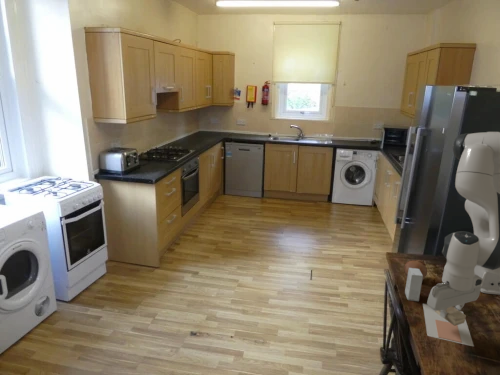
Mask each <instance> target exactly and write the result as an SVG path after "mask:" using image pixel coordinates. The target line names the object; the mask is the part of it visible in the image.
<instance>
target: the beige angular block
mask: <svg viewBox="0 0 500 375" xmlns="http://www.w3.org/2000/svg"><path fill="white" fill-rule="evenodd" d="M454 307H455V306H453V307H449V308H447V310H446V312H447V313H448V315H447V317H445V318H444V319H446V320H447V321H448V322H450V323H451V324H453V325H454V326H456V325H459V324H463V323H464V322H465V320H466V317H467V315H466V314H463V313H464V312H463V311H462V312H463V313H462V312H460V311H459V310H457V309H455V308H454ZM435 312H436V313H437V314H439V315H440V312H441V311H440V310H438V311H435ZM441 317H442V316H441Z"/></svg>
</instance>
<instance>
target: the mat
mask: <svg viewBox="0 0 500 375" xmlns="http://www.w3.org/2000/svg"><path fill="white" fill-rule="evenodd" d="M422 307H423V314H424V316H423V317H424V322H425V330H426V334H427V337H431V338H435V339H439V340H443V341H444V340H445V341H447V342H452V343H456V344H462V345H464V346H468V347H469V346H470V347H475V345H474V341H473V339H472V336H471V332H470V330H469V326H468V323H467V320H466V319H465V322H464V323H463V324H459V325H456V326H454V325H453V324H451V323H450V322H448V321H447V320H446V319H444V318H443V317H441V316H440V315H439V314H437V313H436V312H435V310H433V309H432V308H431V307H429V306H428V304H427V303H422ZM460 312H462V313H463V314H464V311H460Z"/></svg>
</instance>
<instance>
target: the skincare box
mask: <svg viewBox="0 0 500 375" xmlns="http://www.w3.org/2000/svg"><path fill="white" fill-rule="evenodd" d="M422 279H423V275H422V273H421V271H420V269H416V268H409V270H408V276H407V275H406V282H405V283H406V284H405V290H404V295H405V296H406V299H407V300H408V301H413V302H419V301H420V294H421V291H422V285H423V284H422V283H423V281H422Z"/></svg>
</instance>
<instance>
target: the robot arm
mask: <svg viewBox="0 0 500 375" xmlns="http://www.w3.org/2000/svg"><path fill="white" fill-rule="evenodd" d="M452 152H453V155H454V157H455V158H456V159H457V160H459V161H458V165H457V170H456V172H455V173H456V174H455V180H454V181H455V182H454V185H455V186H454V187H455V189H456V191H457V193H458V194H459V195H460V196H461V197H462V198H464V199H465V201H464V210H465V211H466V213H467V214H468V215H469V216H468V217H470V220H471V223H472V227H473V228H472V229H473V233H472V232H469V231H464V230H463V231H462V230H461V231H456V232H451V233H449V234H447V235H446V236H444V238H443V239H444V241H443V242H444V243H443V248H442V250H441V254H442V255H443V257H444V258H445V259H446V263H445V265H444V268H443V272H442V278H441V281H442V282H441V283H440V282H439V283H436V285H434V286H433V287H432V288H431V289H430V292H429V293H428V298H427V302H426V304H428V306H429V307H431V308H432V309H433V310H435V311H438V310H440V311H441V312H440V316H442V317H443V318H445V317H447V315H448V313H447V312H446V310H447V308H449V307H454V308H455V309H457V310H459V311H461V310H462V309H463V307H464V306H465V304H466V303H467V304H468V303H471V302H475V301H477V300H478V298H479V297H480V294H481V293H484V294H490V295H499V296H500V131H486V132H474V133H472V132H471V133H469V132H466V133H462V134H458V136H457V137H456V138H455V139H454V141H453V145H452Z"/></svg>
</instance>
